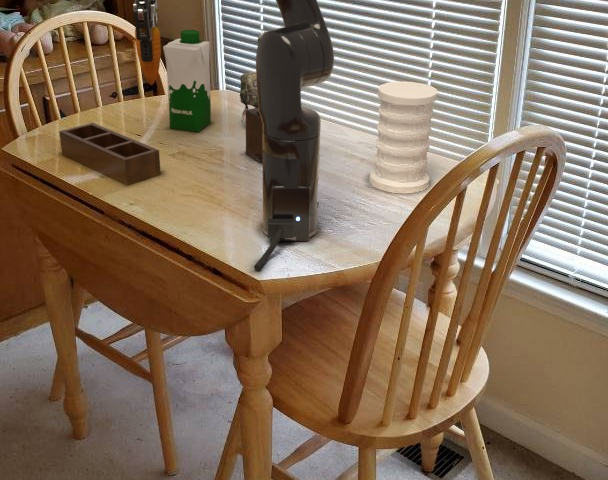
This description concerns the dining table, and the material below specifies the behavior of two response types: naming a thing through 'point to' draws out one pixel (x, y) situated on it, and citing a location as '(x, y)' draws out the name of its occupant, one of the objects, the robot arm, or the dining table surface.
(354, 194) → the dining table surface
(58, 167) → the dining table surface
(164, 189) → the dining table surface
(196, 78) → the milk carton
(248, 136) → the manual coffee grinder
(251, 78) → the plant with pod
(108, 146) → the rack
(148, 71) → the carrot
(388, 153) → the decorative container
